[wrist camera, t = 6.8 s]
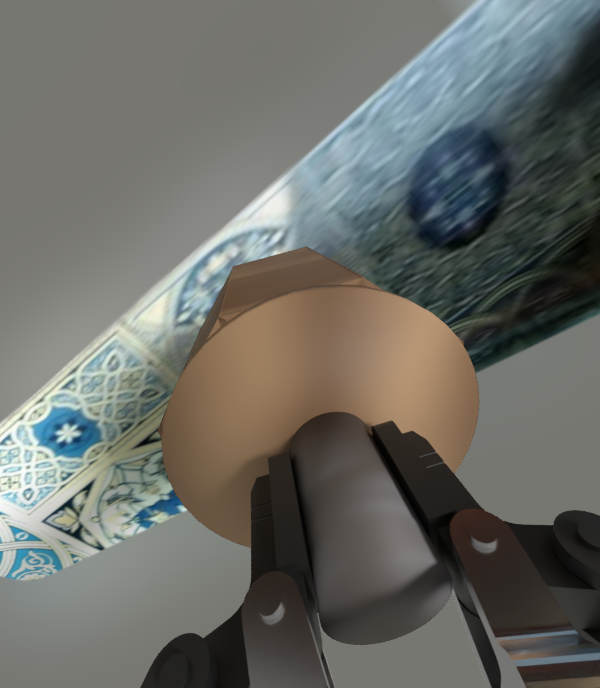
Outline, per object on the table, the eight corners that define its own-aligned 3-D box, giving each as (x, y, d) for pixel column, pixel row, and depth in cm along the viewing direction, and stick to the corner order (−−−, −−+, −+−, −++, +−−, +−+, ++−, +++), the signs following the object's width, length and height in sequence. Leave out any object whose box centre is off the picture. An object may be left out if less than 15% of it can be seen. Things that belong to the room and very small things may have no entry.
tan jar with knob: (358, 229, 19) (714, 271, 5) (381, 383, 24) (591, 646, 9) (176, 277, 19) (-86, 505, 4) (237, 426, 23) (217, 777, 9)
